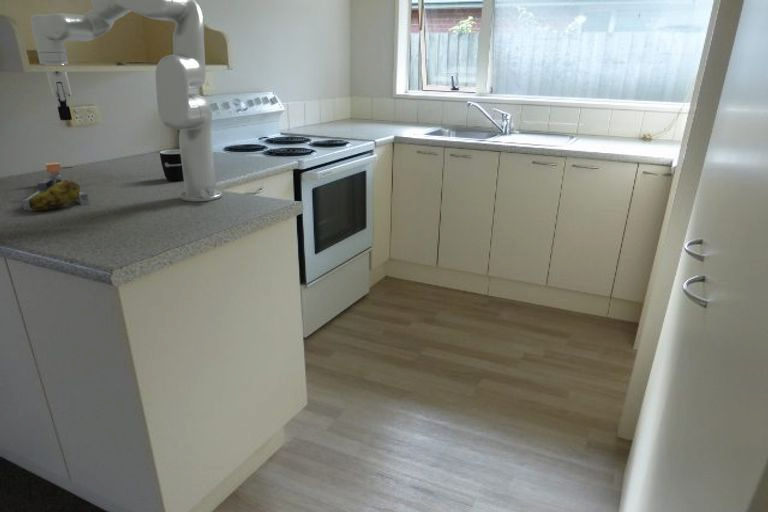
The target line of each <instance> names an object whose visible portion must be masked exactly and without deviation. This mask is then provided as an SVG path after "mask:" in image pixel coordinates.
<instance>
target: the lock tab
mask: <svg viewBox="0 0 768 512" xmlns="http://www.w3.org/2000/svg"><path fill="white" fill-rule="evenodd" d="M60 164H61V163H60V162H48V163H47V162H46V163H45V167H46V171H47V173H50V172H55V171H59V172H61V171H62V169H61V165H60Z"/></svg>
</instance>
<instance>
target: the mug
mask: <svg viewBox="0 0 768 512" xmlns="http://www.w3.org/2000/svg"><path fill="white" fill-rule="evenodd" d="M159 158H160V162H161V167H162V170H163V174H164V176H165V178H166V180H167V182H171V183H173V182H184V178H183V170H182V162H181V154H180V149H165V150H162V151H160V152H159Z"/></svg>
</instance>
